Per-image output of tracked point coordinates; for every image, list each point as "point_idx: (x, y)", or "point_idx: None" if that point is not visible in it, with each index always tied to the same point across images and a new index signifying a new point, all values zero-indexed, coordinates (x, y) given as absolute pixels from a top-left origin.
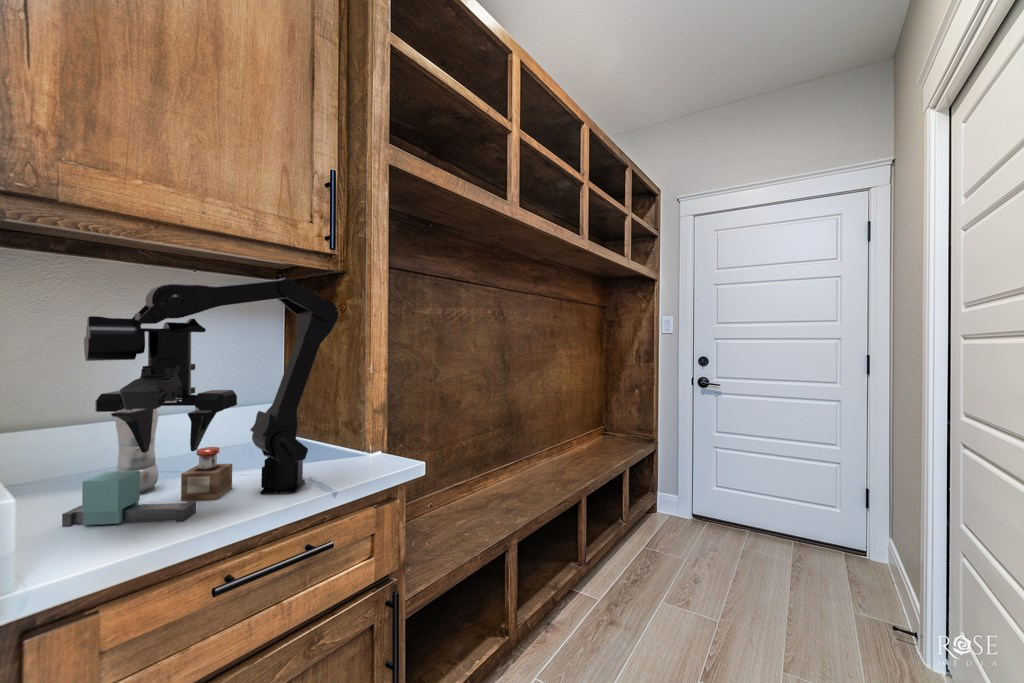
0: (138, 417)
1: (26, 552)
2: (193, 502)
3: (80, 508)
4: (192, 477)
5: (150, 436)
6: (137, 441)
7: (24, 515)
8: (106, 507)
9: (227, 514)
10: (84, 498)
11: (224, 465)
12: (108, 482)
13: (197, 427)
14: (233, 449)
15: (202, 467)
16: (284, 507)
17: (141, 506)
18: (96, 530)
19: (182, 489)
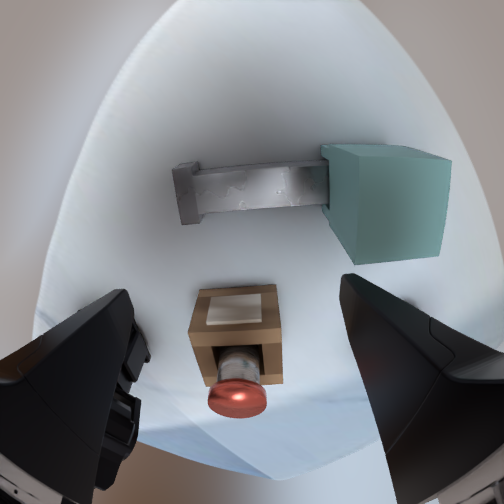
0: (455, 424)
1: (393, 39)
2: (183, 217)
3: None
4: (250, 321)
5: (357, 362)
6: (390, 296)
7: (492, 220)
8: (359, 145)
9: (116, 208)
10: (418, 151)
11: (214, 377)
12: (386, 155)
13: (18, 351)
14: (325, 455)
15: (240, 355)
16: (49, 245)
17: (301, 190)
18: (349, 122)
19: (274, 300)
